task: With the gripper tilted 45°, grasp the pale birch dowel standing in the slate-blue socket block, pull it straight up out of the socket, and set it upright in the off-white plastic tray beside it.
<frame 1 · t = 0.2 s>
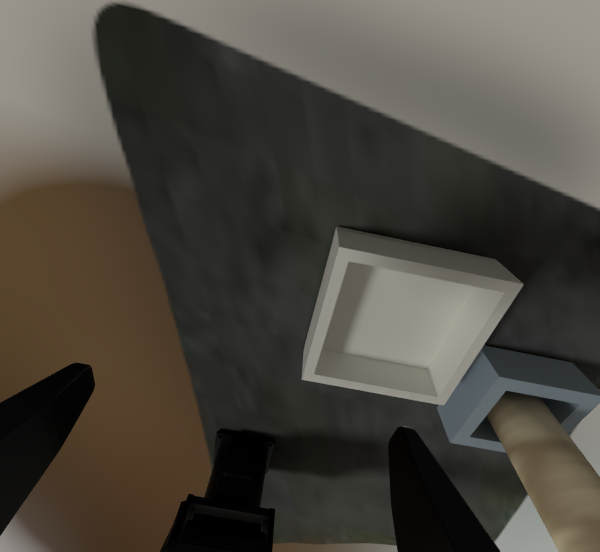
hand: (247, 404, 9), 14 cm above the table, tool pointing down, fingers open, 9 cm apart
birch dowel: (545, 458, 22), in the socket block
socket block: (499, 386, 28), on the table
tray: (389, 308, 24), on the table
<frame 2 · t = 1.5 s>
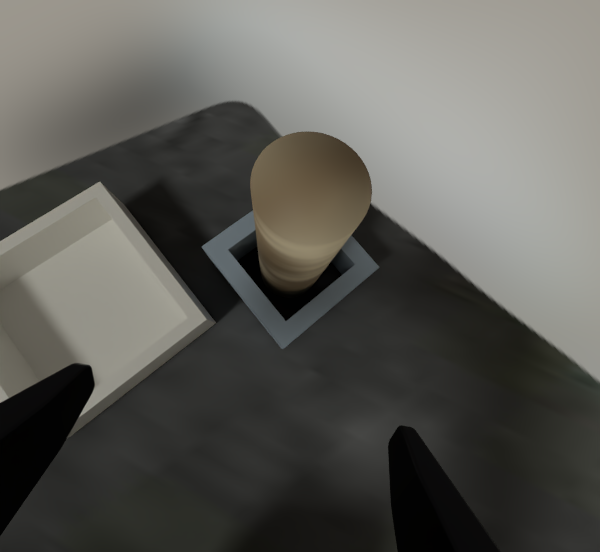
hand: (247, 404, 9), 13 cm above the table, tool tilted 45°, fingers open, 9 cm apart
birch dowel: (296, 242, 17), in the socket block
socket block: (289, 269, 24), on the table
tray: (99, 311, 22), on the table
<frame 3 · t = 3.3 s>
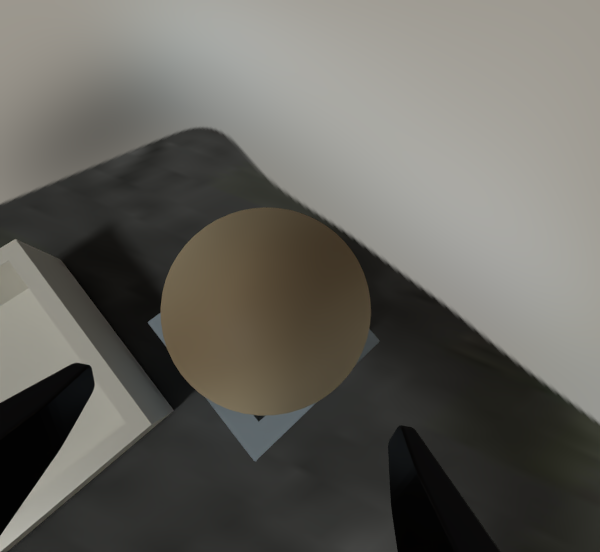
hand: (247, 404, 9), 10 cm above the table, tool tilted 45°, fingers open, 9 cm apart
birch dowel: (267, 327, 13), in the socket block
socket block: (267, 335, 19), on the table
tray: (20, 401, 17), on the table
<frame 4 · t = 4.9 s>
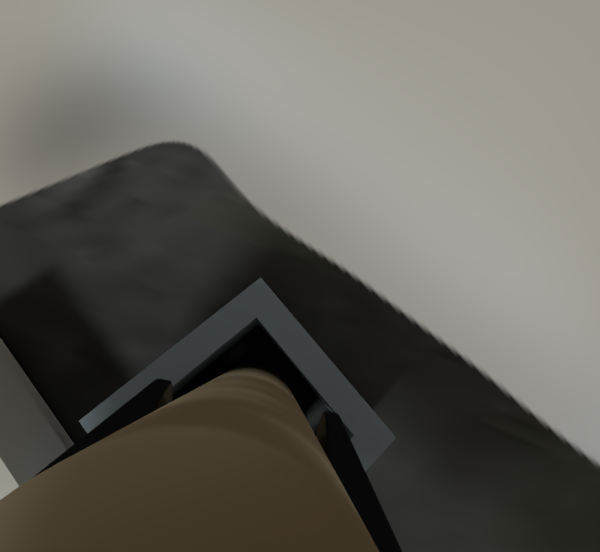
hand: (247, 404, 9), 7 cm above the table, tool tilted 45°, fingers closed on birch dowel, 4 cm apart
birch dowel: (236, 456, 9), in the socket block, touching gripper
socket block: (249, 411, 15), on the table
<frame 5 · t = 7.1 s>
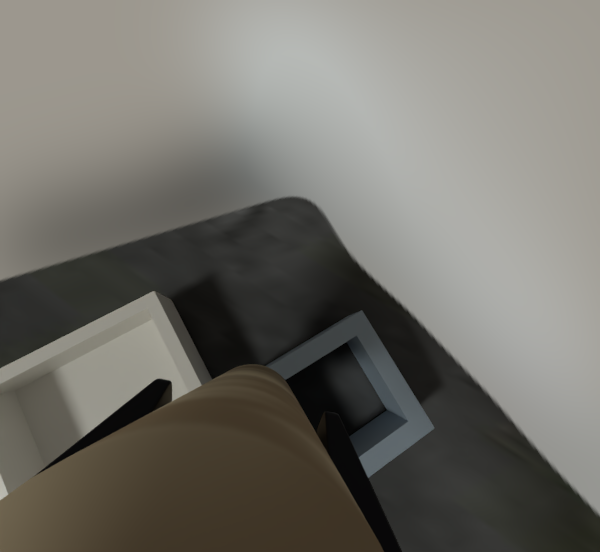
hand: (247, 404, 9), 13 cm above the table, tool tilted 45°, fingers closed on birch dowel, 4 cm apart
birch dowel: (237, 455, 9), point 13 cm above the table, touching gripper
socket block: (331, 395, 22), on the table
tray: (127, 416, 20), on the table
when the fingers open (8 cm above the table, at t = 9.3 s): birch dowel drops 1 cm, resting on tray.
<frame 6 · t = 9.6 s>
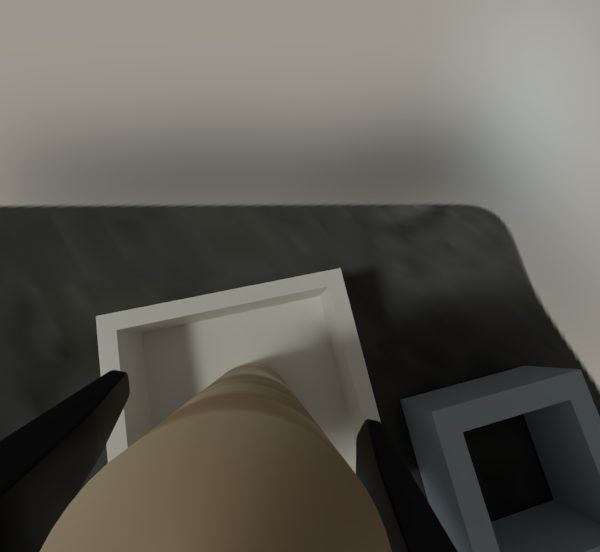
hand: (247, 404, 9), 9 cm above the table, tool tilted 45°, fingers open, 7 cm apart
birch dowel: (244, 444, 10), in the tray, point 7 cm above the table
socket block: (488, 457, 17), on the table
tray: (251, 404, 17), on the table
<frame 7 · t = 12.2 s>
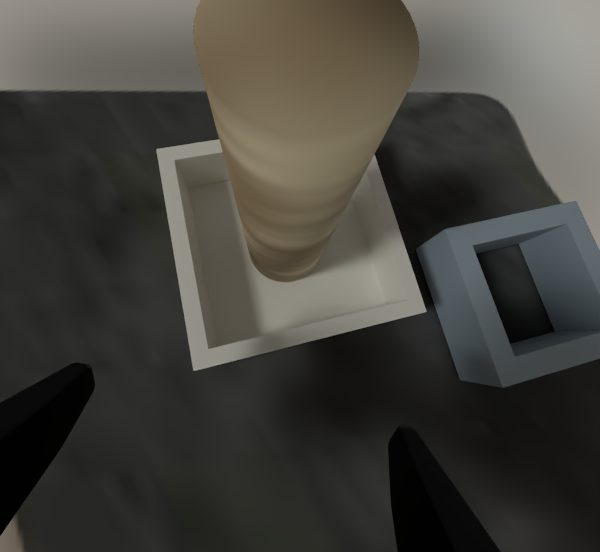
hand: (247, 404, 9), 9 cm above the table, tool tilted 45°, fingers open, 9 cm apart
birch dowel: (291, 195, 12), in the tray, point 7 cm above the table
socket block: (495, 296, 20), on the table
tray: (285, 249, 19), on the table
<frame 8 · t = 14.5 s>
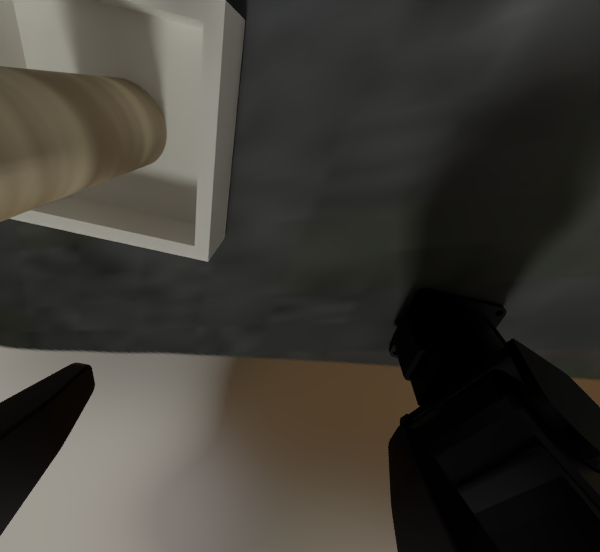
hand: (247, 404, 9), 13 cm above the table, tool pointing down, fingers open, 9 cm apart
birch dowel: (28, 138, 11), in the tray, point 7 cm above the table
tray: (132, 122, 17), on the table
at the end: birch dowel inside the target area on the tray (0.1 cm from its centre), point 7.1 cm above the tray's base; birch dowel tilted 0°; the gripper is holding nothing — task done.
